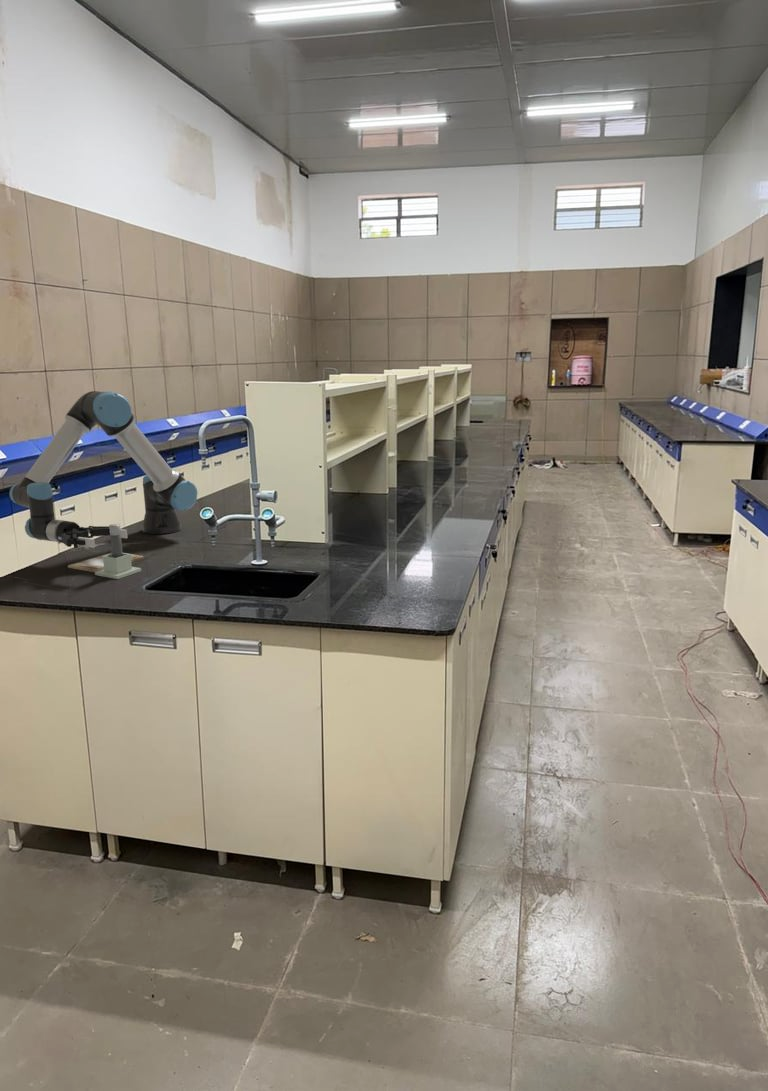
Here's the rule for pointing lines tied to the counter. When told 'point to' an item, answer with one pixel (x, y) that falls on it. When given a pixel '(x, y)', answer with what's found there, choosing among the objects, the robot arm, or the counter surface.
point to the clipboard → (97, 563)
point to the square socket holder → (117, 567)
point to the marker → (116, 540)
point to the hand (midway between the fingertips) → (110, 538)
